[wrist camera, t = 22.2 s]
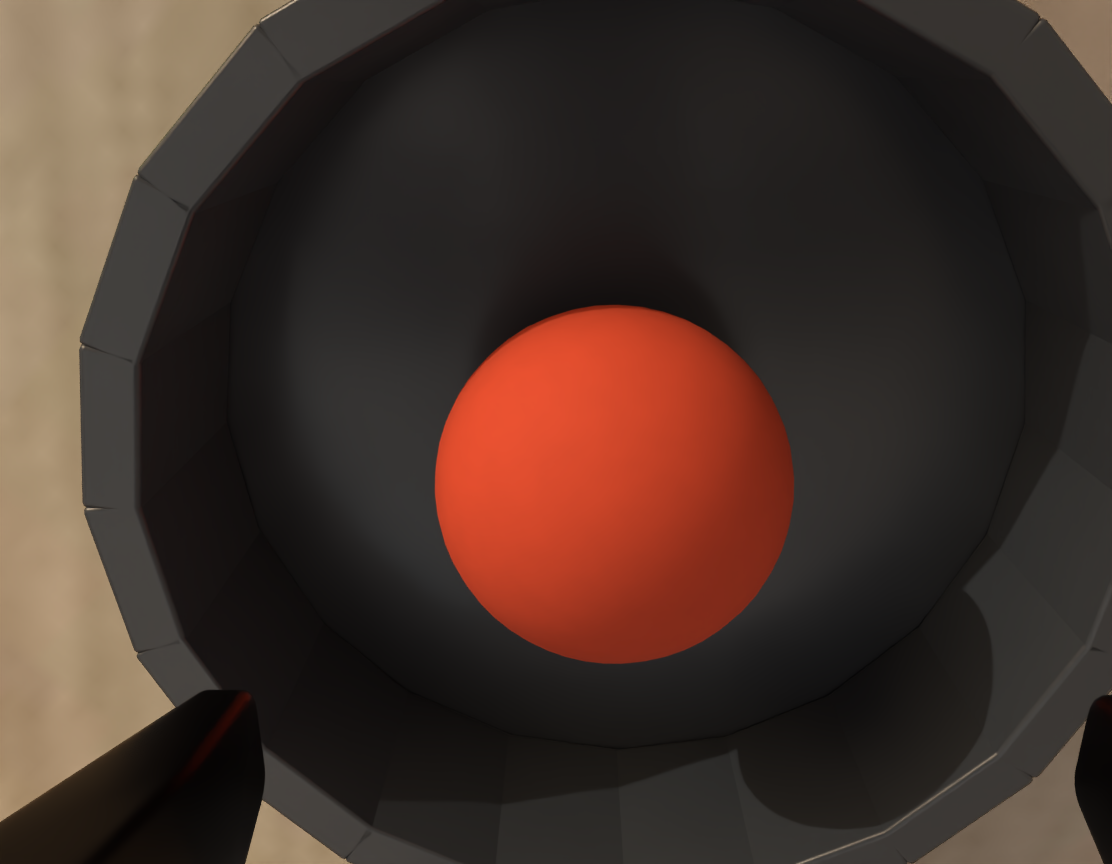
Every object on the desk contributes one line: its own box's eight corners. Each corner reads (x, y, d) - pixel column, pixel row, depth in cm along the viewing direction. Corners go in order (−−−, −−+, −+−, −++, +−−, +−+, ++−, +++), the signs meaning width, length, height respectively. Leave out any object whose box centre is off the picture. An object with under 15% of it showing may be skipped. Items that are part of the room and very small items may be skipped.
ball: (618, 605, 17) (596, 806, 13) (413, 413, 16) (309, 555, 12) (841, 427, 16) (909, 586, 11) (626, 202, 15) (602, 271, 10)
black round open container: (613, 884, 20) (621, 1065, 16) (19, 412, 17) (-137, 508, 13) (1239, 413, 16) (1432, 513, 13) (635, -325, 13) (659, -482, 9)
